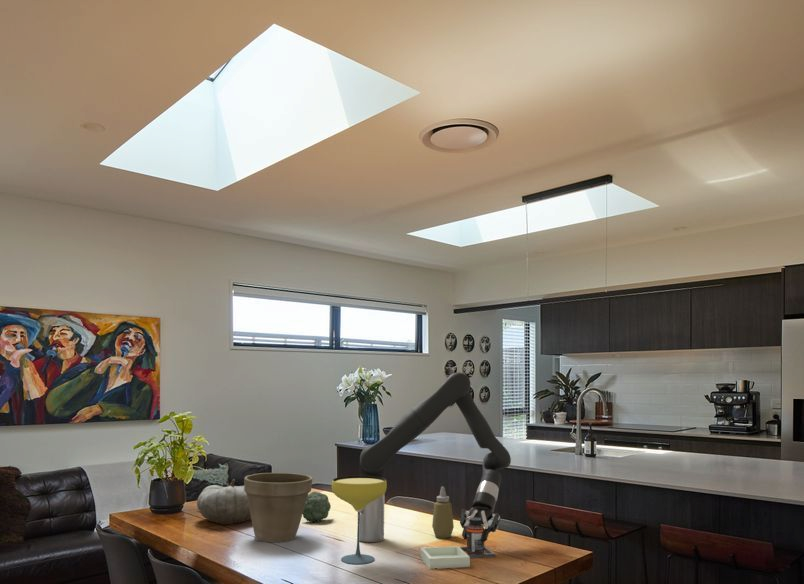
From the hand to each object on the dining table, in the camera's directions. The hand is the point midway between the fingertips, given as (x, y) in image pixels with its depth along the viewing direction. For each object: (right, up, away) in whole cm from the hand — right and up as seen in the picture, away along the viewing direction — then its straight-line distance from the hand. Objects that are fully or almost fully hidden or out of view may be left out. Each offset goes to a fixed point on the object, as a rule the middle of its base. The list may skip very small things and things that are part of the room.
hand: (473, 539), depth 207 cm
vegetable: (-61, -12, +49) cm, 79 cm away
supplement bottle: (+1, -5, +1) cm, 5 cm away
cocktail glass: (-38, -4, -8) cm, 39 cm away
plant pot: (-70, -7, +19) cm, 73 cm away
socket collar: (+1, -5, +1) cm, 5 cm away
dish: (-10, -3, -9) cm, 15 cm away
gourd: (-96, -11, +45) cm, 106 cm away
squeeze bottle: (-9, -8, +23) cm, 26 cm away
